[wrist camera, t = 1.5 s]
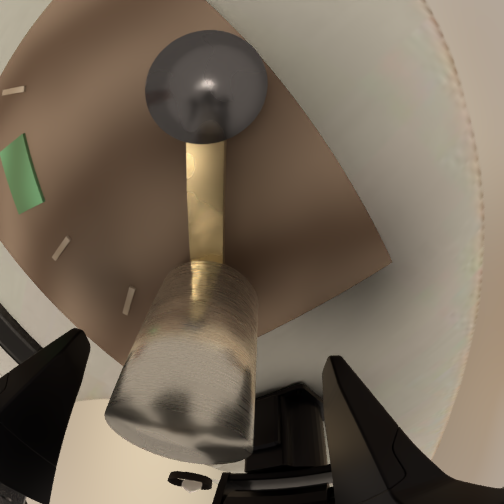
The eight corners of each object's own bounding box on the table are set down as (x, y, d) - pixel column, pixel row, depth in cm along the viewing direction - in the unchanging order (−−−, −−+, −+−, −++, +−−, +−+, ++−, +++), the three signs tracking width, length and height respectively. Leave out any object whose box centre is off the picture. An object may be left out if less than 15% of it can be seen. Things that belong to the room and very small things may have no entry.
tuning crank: (159, 46, 7) (10, -9, 1) (275, 43, 7) (301, -83, 1) (177, 337, 14) (141, 461, 7) (253, 344, 14) (247, 478, 7)
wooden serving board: (381, 246, 13) (394, 264, 11) (153, 368, 18) (147, 386, 17) (133, -51, 5) (119, -64, 4) (-25, 169, 11) (-41, 177, 9)
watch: (173, 474, 36) (171, 490, 33) (165, 467, 34) (162, 485, 31) (215, 479, 36) (213, 496, 32) (209, 473, 33) (207, 492, 30)
